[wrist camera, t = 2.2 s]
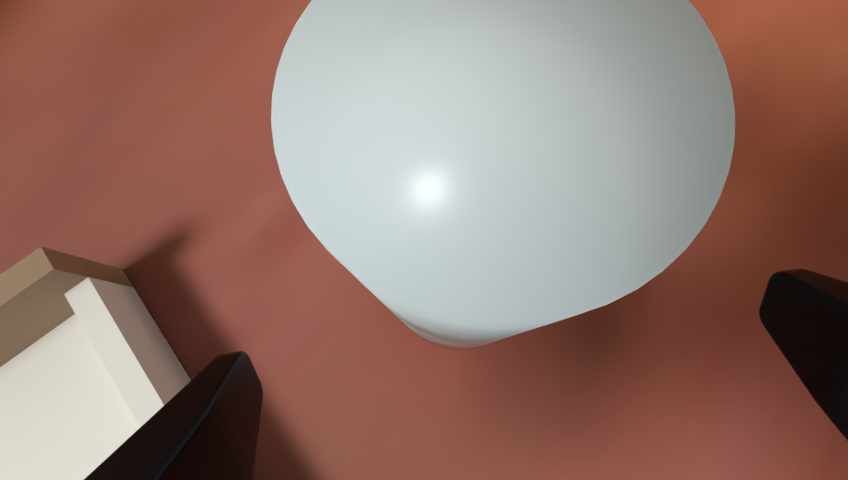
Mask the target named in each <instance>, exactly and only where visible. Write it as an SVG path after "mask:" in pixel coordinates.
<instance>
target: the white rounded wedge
mask: <svg viewBox="0 0 848 480" xmlns="http://www.w3.org/2000/svg"><path fill="white" fill-rule="evenodd" d="M271 125H272V134H273V143H274V150H275V154H276V158H277V161H278V165H279V169H280V173H281V176H282V179H283V181H284V183H285V185H286V188H287V190H288V192H289V195H290V197H291V199H292V202H293V203H294V205H295V207H296V208H297V210H298V211H299V213H300V215H301V216H302V218H303V220H304V221H305V223H306V224H307V226H308V227H309V229H310V230H311V231H312V232H313V233H314V235H315V236H316V237H317V238H318V239H319V241H320V242H321V243H322V244H323V245H324V247H325V248H326V249H327V250H328V251H329V252H330V253H331V254H332V255H333V256H334V257H335V258H336V259H337V260H338V261H339V262H340V263H341V264H342V265H344V266H345V267H346V268H347V269H348V270H349V271H350V272H351V273H352V274H353V275H354V276H355V277H356V278H357V279H358V280H359V281H360V282H361V283H362V284H363V285H364V286H366V287H367V288H368V289H369V290H370V291H371V292H372V293H373V294H374V295H375V296H376V297H377V298H378V299H379V300H380V301H381V302H382V303H383V304H384V305H385V306H386V307H388V308H389V309H390V310H391V311H392V312H393V313H394V314H395V315H396V316H397V317H398V318H399V319H400V320H401V321H402V322H403V323H404V324H405V325H406V326H407V327H409V328H410V329H411V330H412V331H413V332H414V333H415V334H417V335H418V336H420V337H421V338H423V339H425V340H427V341H429V342H430V343H433V344H436V345H439V346H442V347H447V348H454V349H467V348H474V347H479V346H483V345H486V344H489V343H492V342H495V341H498V340H501V339H504V338H507V337H511V336H514V335H517V334H520V333H523V332H526V331H529V330H532V329H535V328H538V327H542V326H545V325H548V324H551V323H554V322H557V321H560V320H563V319H566V318H570V317H573V316H576V315H579V314H582V313H584V312H587V311H590V310H593V309H596V308H599V307H602V306H605V305H608V304H610V303H612V302H614V301H615V300H617V299H619V298H621V297H623V296H625V295H627V294H629V293H631V292H633V291H635V290H637V289H639V288H640V287H641V286H643V285H644V284H646V283H647V282H648V281H650V280H651V279H653V278H654V277H655V276H657V275H658V274H660V273H661V272H662V271H664V270H665V269H666V268H667V267H668V266H669V265H670V264H671V263H672V262H673V261H674V260H675V259H676V258H677V257H678V256H680V255H681V254H682V253H683V252H684V251H685V250H686V249H687V248H688V246H689V245H690V244H691V242H692V241H693V240H694V238H695V237H696V236H697V235H698V233H699V232H700V231H701V229H702V228H703V227H704V225H705V224H706V222H707V220H708V218H709V217H710V215H711V213H712V211H713V209H714V208H715V206H716V204H717V202H718V200H719V198H720V196H721V193H722V190H723V187H724V184H725V182H726V179H727V176H728V173H729V170H730V164H731V159H732V154H733V148H734V142H735V109H734V101H733V93H732V87H731V83H730V79H729V76H728V72H727V68H726V65H725V62H724V59H723V57H722V55H721V52H720V50H719V48H718V46H717V43H716V41H715V39H714V37H713V35H712V33H711V32H710V30H709V28H708V27H707V25H706V24H705V22H704V20H703V19H702V17H701V15H700V14H699V13H698V11H697V10H696V9H695V8H694V6H693V5H692V4H691V3H690V1H689V0H312V1H311V2H310V3H309V5H308V6H307V8H306V9H305V11H304V12H303V14H302V15H301V17H300V18H299V20H298V21H297V23H296V24H295V26H294V28H293V31H292V33H291V35H290V37H289V39H288V41H287V43H286V45H285V47H284V50H283V53H282V56H281V59H280V62H279V65H278V68H277V71H276V77H275V83H274V88H273V94H272V113H271Z"/></svg>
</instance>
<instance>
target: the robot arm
mask: <svg viewBox="0 0 848 480" xmlns="http://www.w3.org/2000/svg"><path fill="white" fill-rule="evenodd" d="M759 315H760V319H761V321H762V324H763V325H764V327H765V328H766V330H767V331H768V333H769V334H770V336H771V337H772V338H773V340H774V341H775V343H776V344H777V346H778V347H779V349H780V350H781V352H782V353H783V355H784V356H785V358H786V359H787V360H788V362H789V363H790V365H791V366H792V368H793V369H794V371H795V372H796V374H797V375H798V377H799V378H800V379H801V381H802V382H803V384H804V385H805V387H806V388H807V390H808V391H809V392H810V394H811V395H812V397H813V398H814V399H815V401H816V402H817V404H818V405H819V406H820V407H821V409H822V410H823V411H824V412H825V414H826V415H827V416H828V417H829V419H830V420H831V421H832V422H833V424H834V425H835V426H836V427H837V428H838V430H839V431H840V432H841V433H842V434H843V436H844V437H845V438H846V439H847V440H848V283H847V282H844V281H841V280H838V279H834V278H831V277H828V276H825V275H822V274H818V273H815V272H812V271H809V270H805V269H792V270H786V271H779V272H776V273H774V274H773V275H772V276H771V277H770V279H769V282H768V285H767V288H766V291H765V294H764V297H763V300H762V303H761V306H760V309H759ZM262 398H263V391H262V385H261V382H260V380H259V378H258V376H257V374H256V371H255V369H254V367H253V365H252V362H251V360H250V358H249V356H248V355H247V354H246V353H245V352H242V351H238V352H232V353H225V354H221V355H219V356H217V357H216V358H215V359H214V360H213V361H212V362H211V363H210V364H208V365H207V366H206V367H205V368H204V369H203V370H202V371H201V372H200V373H199V374H198V375H197V376H195V377H194V378H193V379H192V380H191V381H190V382H189V383H188V384H187V385H186V386H185V387H184V388H182V389H181V390H180V391H179V392H178V393H177V394H176V395H175V396H174V397H173V398H172V399H171V400H169V401H168V402H167V403H166V404H165V405H164V406H163V407H162V408H161V409H160V410H159V411H158V412H156V413H155V414H154V415H153V416H152V417H151V418H150V419H149V420H148V421H147V422H146V423H145V424H143V425H142V426H141V427H140V428H139V429H138V430H137V431H136V432H135V433H134V434H133V435H132V436H130V437H129V438H128V439H127V440H126V441H125V442H124V443H123V444H122V445H121V446H120V447H119V448H117V449H116V450H115V451H114V452H113V453H112V454H111V455H110V456H109V457H108V458H107V459H106V460H104V461H103V462H102V463H101V464H100V465H99V466H98V467H97V468H96V469H95V470H94V471H93V472H91V473H90V474H89V475H88V476H87V477H86V478H85V479H84V480H252V479H253V472H254V464H255V456H256V448H257V440H258V431H259V423H260V415H261V407H262Z"/></svg>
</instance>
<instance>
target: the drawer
mask: <svg viewBox="0 0 848 480" xmlns="http://www.w3.org/2000/svg"><path fill="white" fill-rule="evenodd" d="M190 381H191V380H190V378H189V376H188V375H187V373H186V371H185V370H184V368H183V367H182V365H181V363H180V362H179V360H178V358H177V357H176V355H175V354H174V352H173V350H172V349H171V347H170V346H169V344H168V342H167V341H166V339H165V337H164V336H163V334H162V333H161V331H160V329H159V328H158V326H157V325H156V323H155V321H154V320H153V318H152V316H151V315H150V313H149V312H148V310H147V308H146V307H145V305H144V304H143V302H142V300H141V299H140V297H139V295H138V294H137V292H136V291H135V289H134V287H133V286H132V284H131V282H130V281H129V279H128V278H127V276H126V274H125V273H124V271H123V270H122V269H119V268H115V267H112V266H108V265H105V264H101V263H97V262H94V261H90V260H87V259H83V258H80V257H76V256H72V255H69V254H65V253H62V252H58V251H55V250H51V249H47V248H44V247H40V248H38V249H37V250H35V251H34V252H32V253H31V254H29V255H28V256H26V257H25V258H24V259H22V260H21V261H19V262H18V263H16V264H15V265H13V266H12V267H10V268H9V269H7V270H6V271H5V272H3V273H2V274H0V480H84V479H85V478H86V477H87V476H88V475H89V474H90V473H91V472H93V471H94V470H95V469H96V468H97V467H98V466H99V465H100V464H101V463H102V462H103V461H104V460H106V459H107V458H108V457H109V456H110V455H111V454H112V453H113V452H114V451H115V450H116V449H117V448H119V447H120V446H121V445H122V444H123V443H124V442H125V441H126V440H127V439H128V438H129V437H130V436H132V435H133V434H134V433H135V432H136V431H137V430H138V429H139V428H140V427H141V426H142V425H143V424H145V423H146V422H147V421H148V420H149V419H150V418H151V417H152V416H153V415H154V414H155V413H156V412H158V411H159V410H160V409H161V408H162V407H163V406H164V405H165V404H166V403H167V402H168V401H169V400H171V399H172V398H173V397H174V396H175V395H176V394H177V393H178V392H179V391H180V390H181V389H182V388H184V387H185V386H186V385H187V384H188V383H189V382H190Z"/></svg>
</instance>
